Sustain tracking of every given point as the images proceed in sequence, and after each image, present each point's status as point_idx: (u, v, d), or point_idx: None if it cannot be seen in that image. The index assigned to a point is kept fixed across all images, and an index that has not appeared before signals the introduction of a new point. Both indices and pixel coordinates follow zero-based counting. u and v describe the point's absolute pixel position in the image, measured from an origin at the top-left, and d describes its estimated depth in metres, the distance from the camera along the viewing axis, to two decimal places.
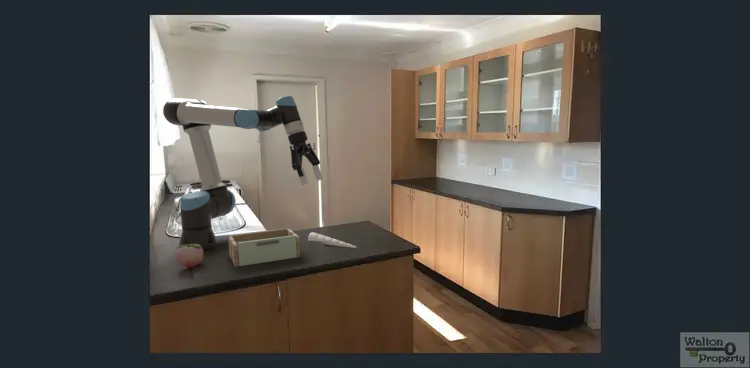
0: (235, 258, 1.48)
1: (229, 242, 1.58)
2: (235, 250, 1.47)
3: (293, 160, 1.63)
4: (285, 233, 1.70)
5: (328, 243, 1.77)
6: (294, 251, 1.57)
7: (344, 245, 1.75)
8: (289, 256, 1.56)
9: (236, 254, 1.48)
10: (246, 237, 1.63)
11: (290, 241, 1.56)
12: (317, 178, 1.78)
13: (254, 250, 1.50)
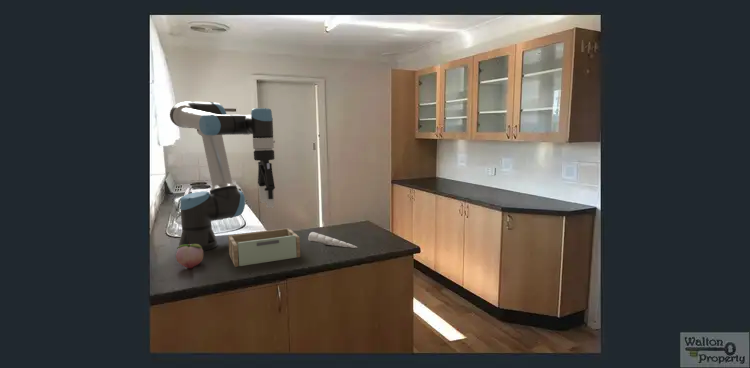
0: (235, 258, 1.48)
1: (229, 242, 1.58)
2: (235, 250, 1.47)
3: (269, 180, 1.49)
4: (285, 233, 1.70)
5: (328, 243, 1.77)
6: (294, 251, 1.57)
7: (344, 245, 1.75)
8: (289, 256, 1.56)
9: (236, 254, 1.48)
10: (246, 237, 1.63)
11: (290, 241, 1.56)
12: (262, 200, 1.64)
13: (254, 250, 1.50)
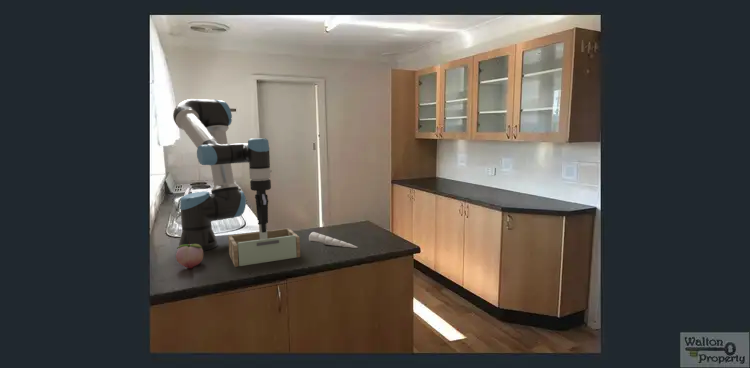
0: (235, 258, 1.48)
1: (229, 242, 1.58)
2: (235, 250, 1.47)
3: (263, 216, 1.54)
4: (285, 233, 1.70)
5: (329, 243, 1.77)
6: (294, 251, 1.57)
7: (345, 245, 1.75)
8: (289, 256, 1.56)
9: (236, 254, 1.48)
10: (246, 237, 1.63)
11: (290, 241, 1.56)
12: None
13: (254, 250, 1.50)
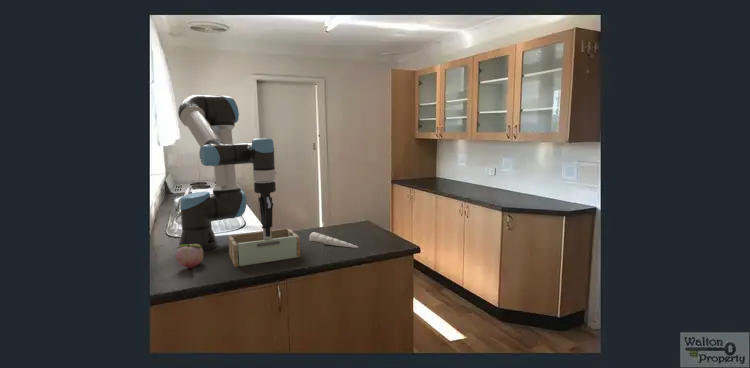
0: (235, 258, 1.48)
1: (229, 242, 1.58)
2: (235, 250, 1.47)
3: (268, 220, 1.48)
4: (285, 233, 1.70)
5: (329, 243, 1.77)
6: (294, 251, 1.57)
7: (345, 245, 1.75)
8: (289, 256, 1.56)
9: (236, 254, 1.48)
10: (246, 237, 1.63)
11: (291, 242, 1.55)
12: None
13: (254, 251, 1.50)
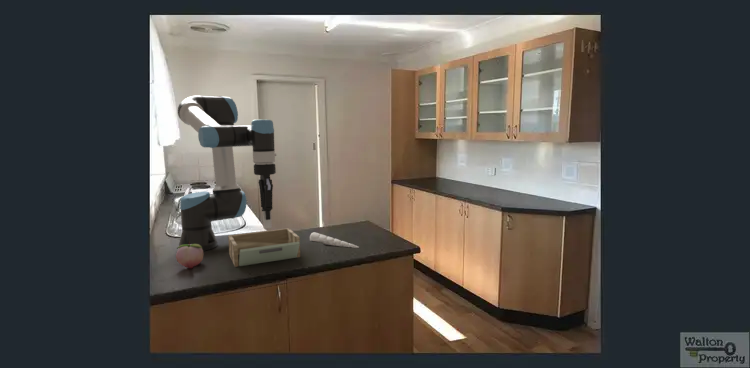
0: (235, 258, 1.48)
1: (229, 242, 1.58)
2: (235, 250, 1.47)
3: (267, 202, 1.45)
4: (285, 233, 1.70)
5: (330, 243, 1.77)
6: (295, 253, 1.56)
7: (346, 245, 1.75)
8: (289, 257, 1.56)
9: (236, 254, 1.48)
10: (246, 237, 1.63)
11: (293, 247, 1.53)
12: None
13: (256, 255, 1.48)
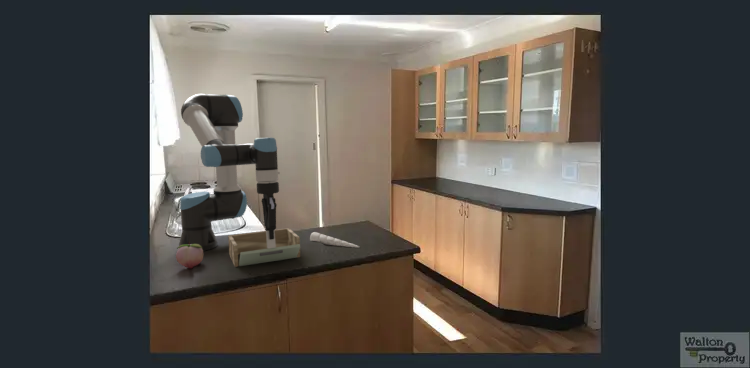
0: (235, 258, 1.48)
1: (229, 242, 1.58)
2: (235, 250, 1.47)
3: (271, 221, 1.42)
4: (285, 233, 1.70)
5: (330, 243, 1.77)
6: (295, 254, 1.56)
7: (346, 245, 1.75)
8: (289, 257, 1.56)
9: (236, 254, 1.48)
10: (246, 237, 1.63)
11: (294, 249, 1.52)
12: None
13: (256, 257, 1.47)
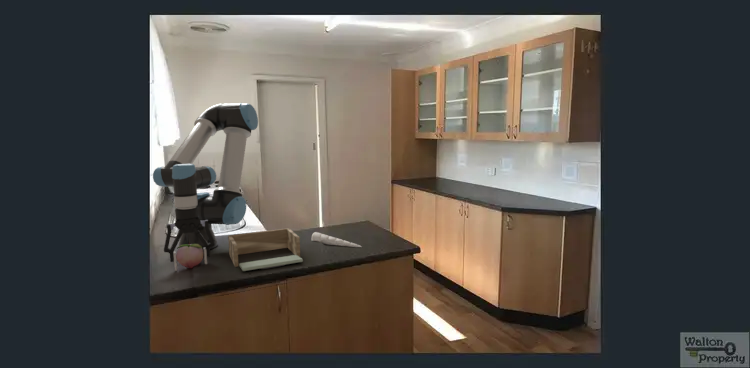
0: (235, 258, 1.48)
1: (229, 242, 1.58)
2: (235, 250, 1.47)
3: (212, 237, 1.52)
4: (285, 233, 1.70)
5: (332, 243, 1.78)
6: None
7: (348, 244, 1.75)
8: None
9: (236, 254, 1.48)
10: (246, 237, 1.63)
11: None
12: (176, 267, 1.48)
13: None
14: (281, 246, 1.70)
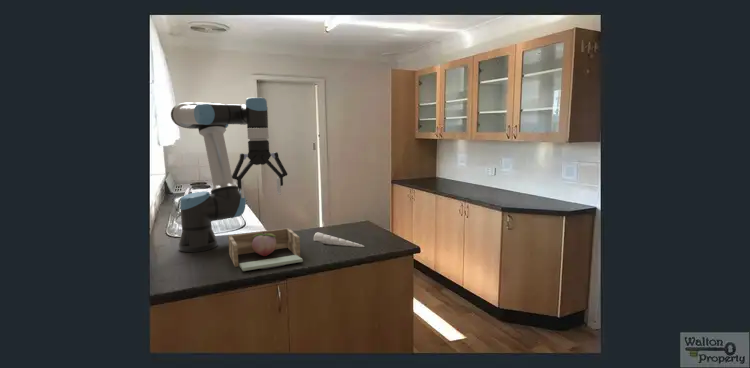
0: (235, 258, 1.48)
1: (229, 242, 1.58)
2: (235, 250, 1.47)
3: None
4: (285, 233, 1.70)
5: (334, 243, 1.78)
6: None
7: (351, 244, 1.75)
8: None
9: (236, 254, 1.48)
10: (246, 237, 1.63)
11: None
12: (243, 195, 1.54)
13: None
14: (281, 246, 1.70)
